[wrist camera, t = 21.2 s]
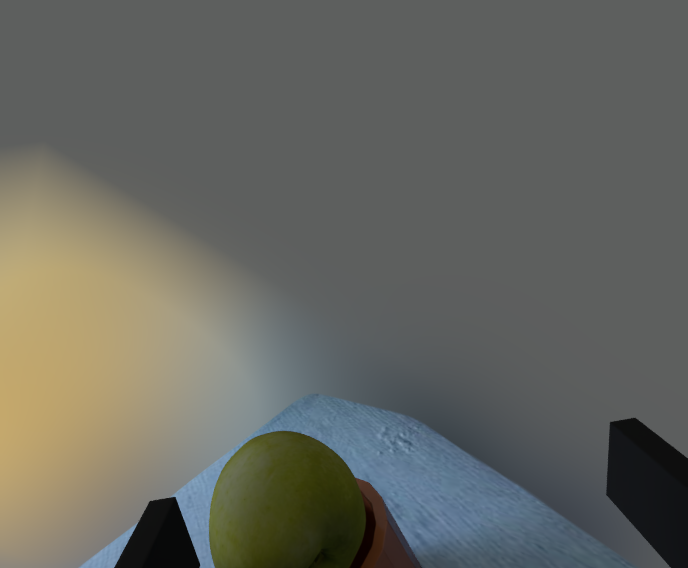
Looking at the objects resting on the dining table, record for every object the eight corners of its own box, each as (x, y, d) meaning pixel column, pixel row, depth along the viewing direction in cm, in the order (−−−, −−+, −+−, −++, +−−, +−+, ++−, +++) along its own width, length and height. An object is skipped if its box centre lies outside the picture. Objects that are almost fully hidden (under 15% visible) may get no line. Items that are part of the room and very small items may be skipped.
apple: (320, 692, 17) (197, 658, 13) (251, 540, 24) (160, 488, 20) (424, 542, 19) (348, 473, 15) (332, 444, 27) (264, 381, 23)
